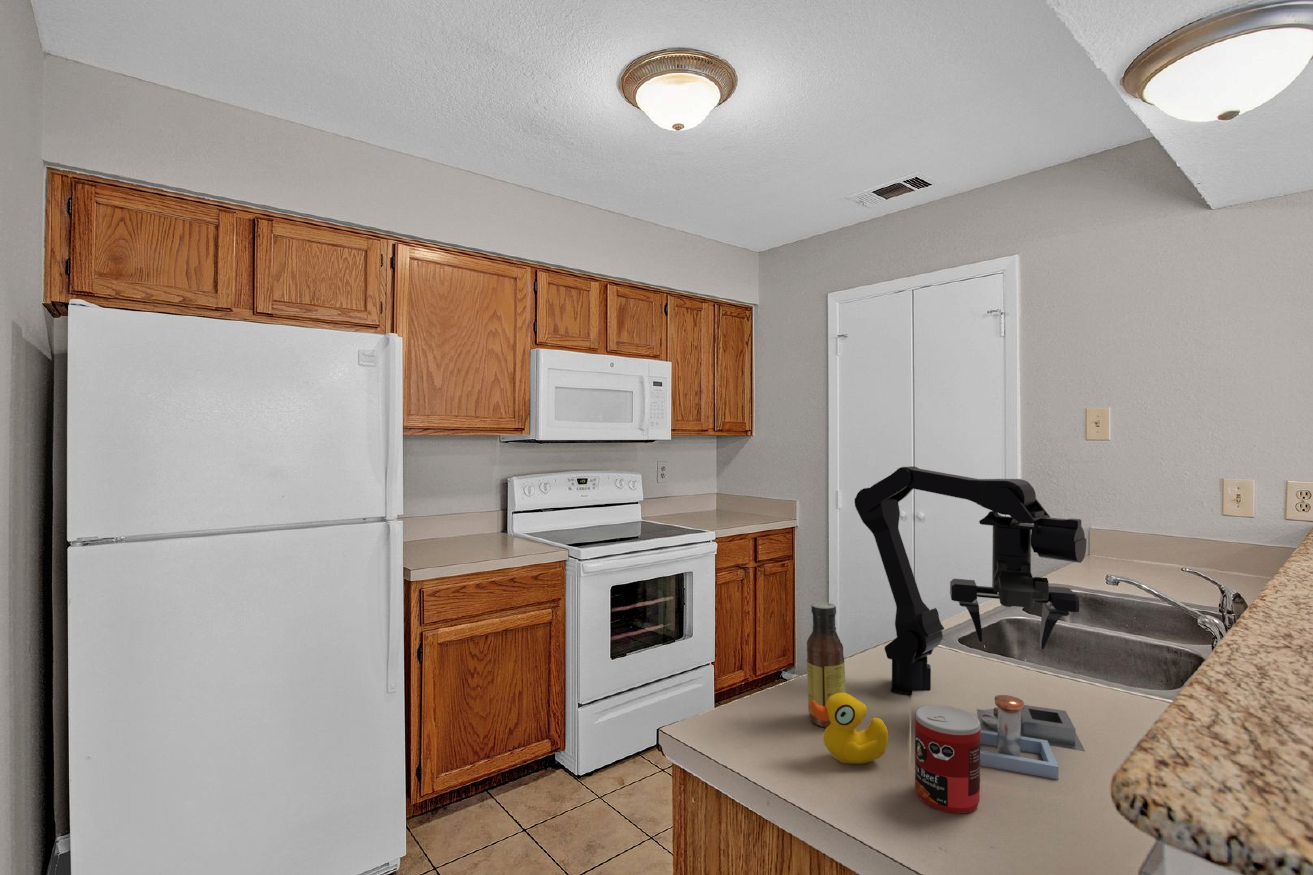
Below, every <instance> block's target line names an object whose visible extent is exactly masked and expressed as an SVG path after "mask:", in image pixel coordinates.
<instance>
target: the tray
mask: <svg viewBox="0 0 1313 875" xmlns="http://www.w3.org/2000/svg"><path fill="white" fill-rule="evenodd" d="M980 734H981V742H980V745H987V746H993V747H997V748H998V732H991V731H985V730H981V729H980ZM1022 751H1023V752H1028V753H1035V754H1040V756H1041V757H1042V760H1039V759H1033V758H1028V757H1027V758H1026V757H1022V756H1021V757H1016V756H1011V755H1005V754H999V753H998V752H991V751H988V750H981V749H980V767H981V766H982V767H988V768H993V769H998V770H1004V771H1009V772H1014V773H1015V772H1016V773H1022V774H1025V775H1032V776H1038V777H1043V778H1047V779H1048V778H1049V779H1055V780H1059V769H1060V768H1059V765H1058V762H1057V760H1056V757H1055V755H1054V753H1053V750H1052V748H1051V746H1049V743H1048V741H1047V740H1041V739H1035V738H1029V737H1023V736H1021V752H1022Z"/></svg>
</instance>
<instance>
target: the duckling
mask: <svg viewBox="0 0 1313 875" xmlns="http://www.w3.org/2000/svg"><path fill="white" fill-rule="evenodd" d="M810 708H811V711H812V713H813V715H814V716H815V717H816V718H818V719H819V720H821V721H829V720H830V722H831V724H830V725H829V726H828V727H827V728H825V730H824V732H823V735H822V736H823V737H822V739H823V743H824V747H825V748H826V749H827V751H828V752H829V754H831V756H832V757H833V758H835V759H836V760H837V761H838V762H840V763H843V764H847V765H849V764H850V765H851V764H852V765H854V764H855V765H856V764H857V765H858V764H861V765H862V764H867V763H871V762H873V761H875V760H879V758H881V757H882V756H883V755H884V754H885V753H886V751H887V748H888V742H889V730H888V728H887V726H886V724H885V722H884V721H883V720H882V719H881V718H879V717H873V718H872V719H871V720H870V721H869V723H868V725H867V728H865V729H863V730H859V731H856V730H855V729H857V728H859V726H860V725H861V724H862V722H863V720H864V718H865V717H866V715H867V706H866V705H865V703H863V702H862V701H860V700H858V699H857V698H856V697H854V696H853V695H852V694H849V693H847V692H846V693H836V694H834V695H832V696H830V697H829V698H828V700H827V702H826V707H825V706H821V705H818V704H817V703H816V702H815V701H814V700H812V701H811V702H810Z"/></svg>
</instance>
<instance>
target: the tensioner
mask: <svg viewBox="0 0 1313 875" xmlns="http://www.w3.org/2000/svg"><path fill="white" fill-rule="evenodd" d="M976 712H977V718H978V720H979V721H980V730H985V731H991V732H998V707H994V708H988V709H980V708H979V709H978V708H977V709H976ZM1068 714H1069V713H1067V711H1066V710H1065V709H1055V708H1048V707H1042V706H1035V705H1029V704H1024V709H1023V710H1021V736H1023V737H1029V738H1035V739H1041V740H1047V741H1048V743H1049V746H1050V747H1055V748H1056V747H1057V748H1062V749H1069V750H1074V751H1082V752H1086V749H1085V748H1084V746H1083V744H1082V742H1081V740H1080V739H1079V736H1078V734H1077V733H1076V728H1075V726H1074V724H1073V722H1072V719H1071V718H1070V717H1069V715H1068Z"/></svg>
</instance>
